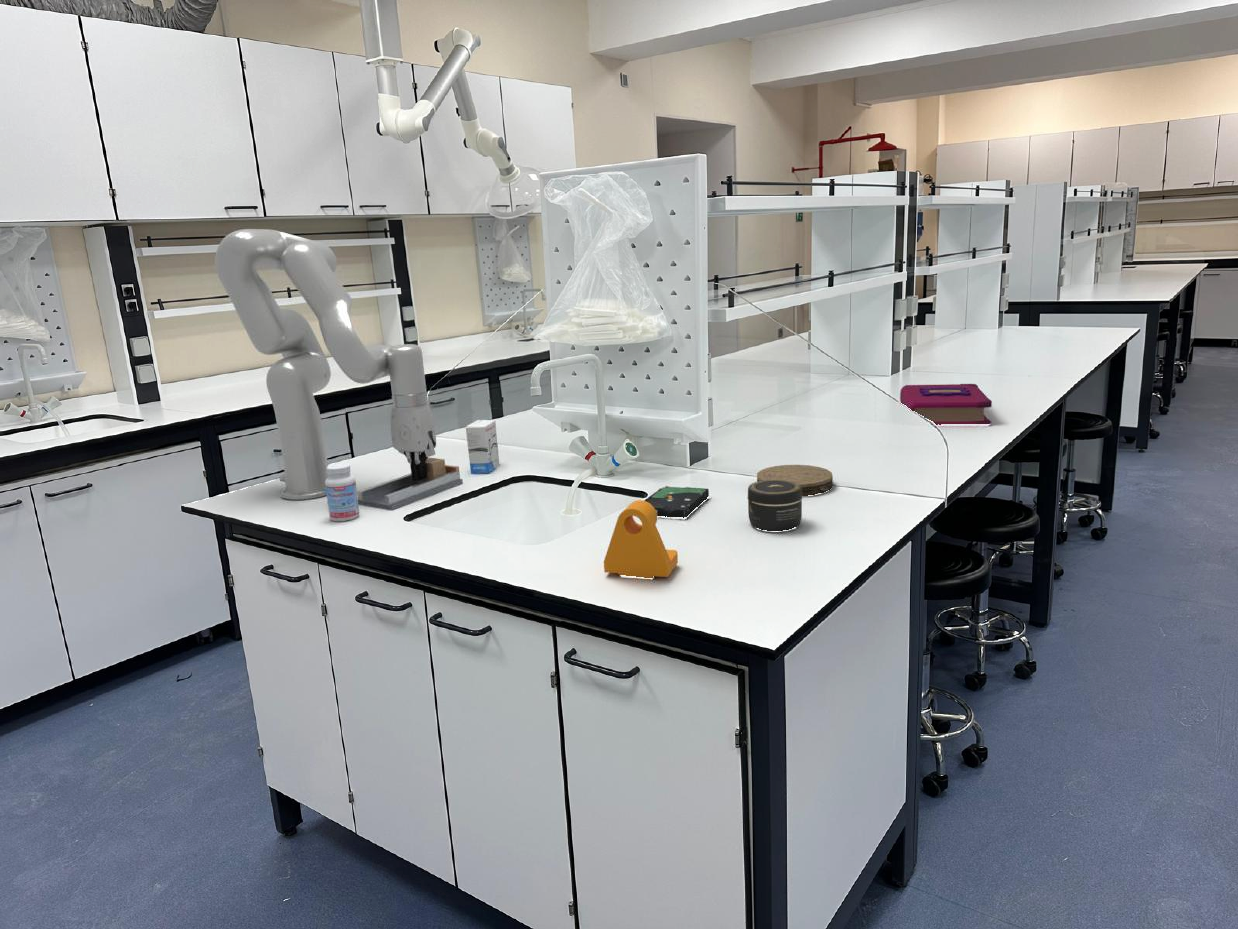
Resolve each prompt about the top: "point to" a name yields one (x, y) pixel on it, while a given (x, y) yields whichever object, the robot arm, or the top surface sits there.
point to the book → (947, 403)
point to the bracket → (639, 545)
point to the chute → (407, 490)
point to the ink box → (482, 446)
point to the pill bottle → (341, 493)
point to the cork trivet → (800, 477)
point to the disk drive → (677, 500)
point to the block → (434, 468)
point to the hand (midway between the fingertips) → (419, 479)
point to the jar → (775, 504)
